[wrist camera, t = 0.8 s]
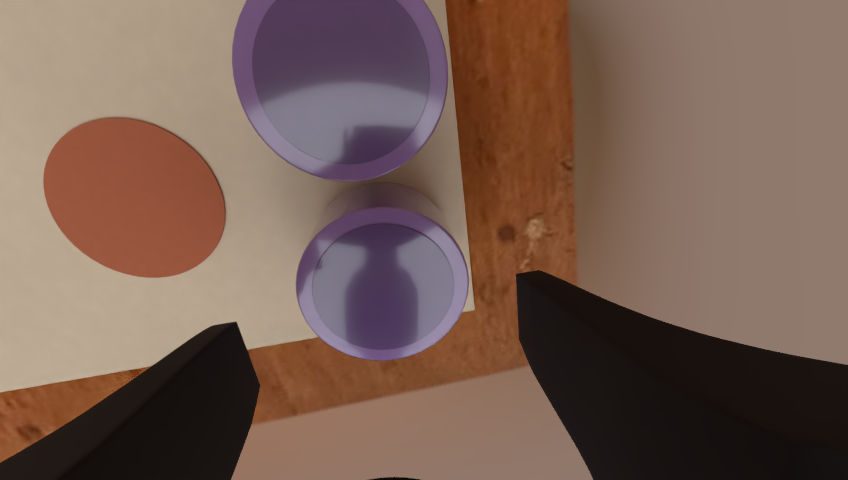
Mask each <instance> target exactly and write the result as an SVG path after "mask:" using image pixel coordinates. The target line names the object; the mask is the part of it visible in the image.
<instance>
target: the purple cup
mask: <svg viewBox="0 0 848 480" xmlns="http://www.w3.org/2000/svg"><path fill="white" fill-rule="evenodd" d="M232 68H233V78H234V82H235V86H236V91H237V94H238V97H239V100H240V103H241V105H242V108H243V110H244V112H245V114H246V116H247V118H248V120H249V122H250V123H251V125H252V126H253V128H254V129H255V131H256V132H257V134H258V135H259V136H260V137H261V139H262V140H263V141H264V142H265V143H266V145H267V146H268V147H270V148H271V149H272V150H273V151H274V152H275V153H276V154H277V155H278V156H280V157H281V158H282V159H283V160H285V161H286V162H287V163H289V164H291V165H292V166H294V167H296V168H298V169H299V170H301V171H304V172H306V173H308V174H310V175H313V176H316V177H320V178H323V179H327V180H333V181H343V182H355V181H365V180H369V179H374V178H377V177H380V176H383V175H386V174H388V173H390V172H392V171H394V170H396V169H398V168H399V167H401V166H402V165H404V164H405V163H407V162H408V161H409V160H411V159H412V158H413V157H414V156H415V155H416V154H417V153H418V152H419V151H420V150H421V149H422V148H423V146H424V145H425V144H426V143H427V141H428V140H429V138H430V137H431V135H432V134H433V132H434V130H435V128H436V126H437V124H438V122H439V120H440V117H441V114H442V111H443V108H444V105H445V100H446V95H447V88H448V62H447V55H446V49H445V45H444V42H443V38H442V35H441V32H440V29H439V27H438V25H437V22H436V20H435V18H434V16H433V14H432V13H431V11H430V9H429V7H428V6H427V4H426V3H425V1H424V0H246V2H245V4H244V6H243V9H242V11H241V13H240V15H239V18H238V21H237V25H236V28H235V32H234V38H233V45H232Z"/></svg>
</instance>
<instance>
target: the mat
mask: <svg viewBox="0 0 848 480" xmlns="http://www.w3.org/2000/svg"><path fill="white" fill-rule="evenodd" d="M424 1H425V3H426V4H427V6H428V7H429V9H430V11H431V13H432V14H433V16H434V18H435V20H436V22H437V25H438V27H439V29H440V32H441V35H442V38H443V42H444V45H445V49H446V55H447V62H448V88H447V95H446V100H445V105H444V108H443V111H442V114H441V117H440V120H439V122H438V124H437V126H436V128H435V130H434V132H433V134H432V135H431V137H430V138H429V140H428V141H427V143H426V144H425V145H424V146H423V148H422V149H421V150H420V151H419V152H418V153H417V154H416V155H415V156H414V157H413V158H412V159H411V160H409V161H408V162H407V163H405V164H404V165H402V166H401V167H399V168H398V169H396V170H394V171H392V172H390V173H388V174H386V175H383V176H380V177H377V178H374V179H369V180H365V181H355V182H343V181H333V180H327V179H323V178H320V177H316V176H313V175H310V174H308V173H306V172H304V171H301V170H299V169H298V168H296V167H294V166H292V165H291V164H289V163H287V162H286V161H285V160H283V159H282V158H281V157H280V156H278V155H277V154H276V153H275V152H274V151H273V150H272V149H271V148H270V147H268V146H267V145H266V143H265V142H264V141H263V140H262V139H261V137H260V136H259V135H258V134H257V132H256V131H255V129H254V128H253V126H252V125H251V123H250V122H249V120H248V118H247V116H246V114H245V112H244V110H243V108H242V105H241V103H240V100H239V97H238V94H237V91H236V86H235V82H234V78H233V68H232V45H233V38H234V32H235V28H236V25H237V21H238V18H239V15H240V13H241V11H242V9H243V6H244V4H245V2H246V0H0V392H5V391H11V390H17V389H22V388H28V387H34V386H40V385H45V384H51V383H57V382H63V381H68V380H74V379H80V378H86V377H92V376H97V375H103V374H109V373H115V372H120V371H126V370H132V369H138V368H143V367H149V366H153V365H154V364H156V363H157V362H158V361H160V360H161V359H163V358H164V357H165V356H167V355H168V354H170V353H171V352H172V351H174V350H175V349H177V348H178V347H179V346H181V345H182V344H184V343H185V342H186V341H188V340H189V339H191V338H192V337H194V336H195V335H197V334H198V333H200V332H202V331H203V330H205V329H207V328H209V327H210V326H212V325H218V324H224V323H230V322H236V321H237V324H238V327H239V329H240V332H241V335H242V338H243V340H244V343H245V346H246V348H247V349H253V348H259V347H265V346H270V345H276V344H282V343H288V342H294V341H299V340H305V339H311V338H317V337H318V336H317V335H316V334H315V332H314V331H313V330H312V329H311V328H310V326H309V325H308V324H307V322H306V320H305V318H304V316H303V315H302V313H301V310H300V307H299V304H298V300H297V295H296V274H297V269H298V265H299V262H300V260H301V257H302V255H303V252H304V250H305V248H306V246H307V244H308V242H309V239H310V237H311V235H312V233H313V231H314V229H315V226H316V224H317V222H318V220H319V218H320V216H321V215H322V213H323V211H324V210H325V209H326V208H327V206H328V205H329V204H330V203H331V202H332V201H333V200H334V199H335V198H336V197H338V196H339V195H341V194H342V193H344V192H345V191H347V190H349V189H351V188H353V187H356V186H359V185H362V184H366V183H371V182H393V183H399V184H402V185H406V186H409V187H411V188H413V189H415V190H418V191H419V192H421V193H422V194H424V195H425V196H427V197H428V198H429V199H430V200H431V201H432V202H433V203H434V204H435V205H436V206H437V207H438V208H439V210H440V211H441V213H442V214H443V216H444V218H445V220H446V222H447V224H448V226H449V227H450V229H451V231H452V233H453V235H454V237H455V239H456V241H457V243H458V245H459V247H460V249H461V251H462V253H463V255H464V258H465V261H466V264H467V268H468V274H469V288H468V296H467V299H466V303H465V306H464V308H463V311H462V312H467V311H472V310H475V307H474V296H473V286H472V275H471V265H470V255H469V244H468V234H467V223H466V213H465V202H464V192H463V182H462V171H461V161H460V150H459V140H458V129H457V119H456V108H455V98H454V88H453V77H452V67H451V56H450V46H449V35H448V25H447V14H446V4H445V0H424Z"/></svg>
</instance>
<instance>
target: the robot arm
mask: <svg viewBox="0 0 848 480" xmlns="http://www.w3.org/2000/svg"><path fill="white" fill-rule="evenodd" d="M516 283H517V304H518V325H519V340H520V343H521V345H522V347H523V350H524V352H525V355H526V357H527V360H528V362H529V364H530V367H531V369H532V371H533V373H534V375H535V377H536V378H537V380H538V382H539V383H540V385H541V387H542V389H543V391H544V392H545V394H546V396H547V397H548V399H549V401H550V402H551V404H552V406H553V408H554V409H555V411H556V413H557V414H558V416H559V418H560V419H561V421H562V423H563V425H564V426H565V428H566V430H567V431H568V433H569V435H570V436H571V438H572V440H573V442H574V443H575V445H576V447H577V448H578V450H579V452H580V454H581V456H582V458H583V460H584V461H585V463H586V465H587V467H588V469H589V471H590V473H591V475H592V478H593V480H848V365H844V364H838V363H833V362H828V361H822V360H816V359H811V358H805V357H800V356H794V355H789V354H784V353H780V352H775V351H770V350H765V349H761V348H756V347H753V346H748V345H744V344H740V343H736V342H732V341H728V340H723V339H720V338H716V337H712V336H708V335H705V334H701V333H698V332H695V331H691V330H688V329H685V328H682V327H678V326H675V325H672V324H669V323H666V322H663V321H660V320H657V319H654V318H651V317H648V316H646V315H643V314H641V313H638V312H635V311H633V310H630V309H628V308H625V307H622V306H620V305H617V304H615V303H612V302H610V301H608V300H606V299H603V298H601V297H599V296H596V295H594V294H592V293H589V292H588V291H585V290H583V289H581V288H579V287H577V286H574V285H572V284H570V283H568V282H566V281H564V280H561V279H559V278H557V277H555V276H553V275H550V274H548V273H545V272H543V271H540V270H537V271H532V272H526V273H520V274H516ZM259 388H260V384H259V381H258V378H257V376H256V373H255V370H254V367H253V365H252V362H251V359H250V357H249V354H248V351H247V348H246V346H245V343H244V340H243V338H242V335H241V332H240V329H239V327H238V324H237V321H236V322H230V323H224V324H218V325H212V326H210V327H209V328H207V329H205V330H203V331H202V332H200V333H198V334H197V335H195V336H194V337H192V338H191V339H189V340H188V341H186V342H185V343H184V344H182V345H181V346H179V347H178V348H177V349H175V350H174V351H172V352H171V353H170V354H168V355H167V356H165V357H164V358H163V359H161V360H160V361H158V362H157V363H156V364H154V365H153V366H151V367H150V368H149V369H147V370H146V371H144V372H143V373H142V374H140V375H139V376H137V377H136V378H134V379H133V380H132V381H130V382H129V383H127V384H126V385H124V386H123V387H121V388H120V389H118V390H117V391H115V392H114V393H112V394H111V395H109V396H108V397H107V398H105V399H104V400H102V401H101V402H99V403H98V404H96V405H95V406H93V407H92V408H90V409H89V410H87V411H86V412H84V413H83V414H81V415H80V416H78V417H77V418H75V419H73V420H72V421H70V422H69V423H67V424H65V425H64V426H62V427H61V428H59V429H57V430H56V431H54V432H53V433H51V434H49V435H47V436H46V437H44V438H42V439H41V440H39V441H37V442H36V443H34V444H32V445H31V446H29V447H27V448H26V449H24V450H22V451H20V452H19V453H17V454H15V455H14V456H12V457H10V458H8V459H7V460H5V461H3V462H1V463H0V480H231V478H232V475H233V472H234V470H235V467H236V465H237V462H238V459H239V457H240V454H241V451H242V449H243V446H244V443H245V440H246V438H247V435H248V432H249V429H250V427H251V424H252V420H253V416H254V411H255V407H256V403H257V398H258V393H259Z"/></svg>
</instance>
